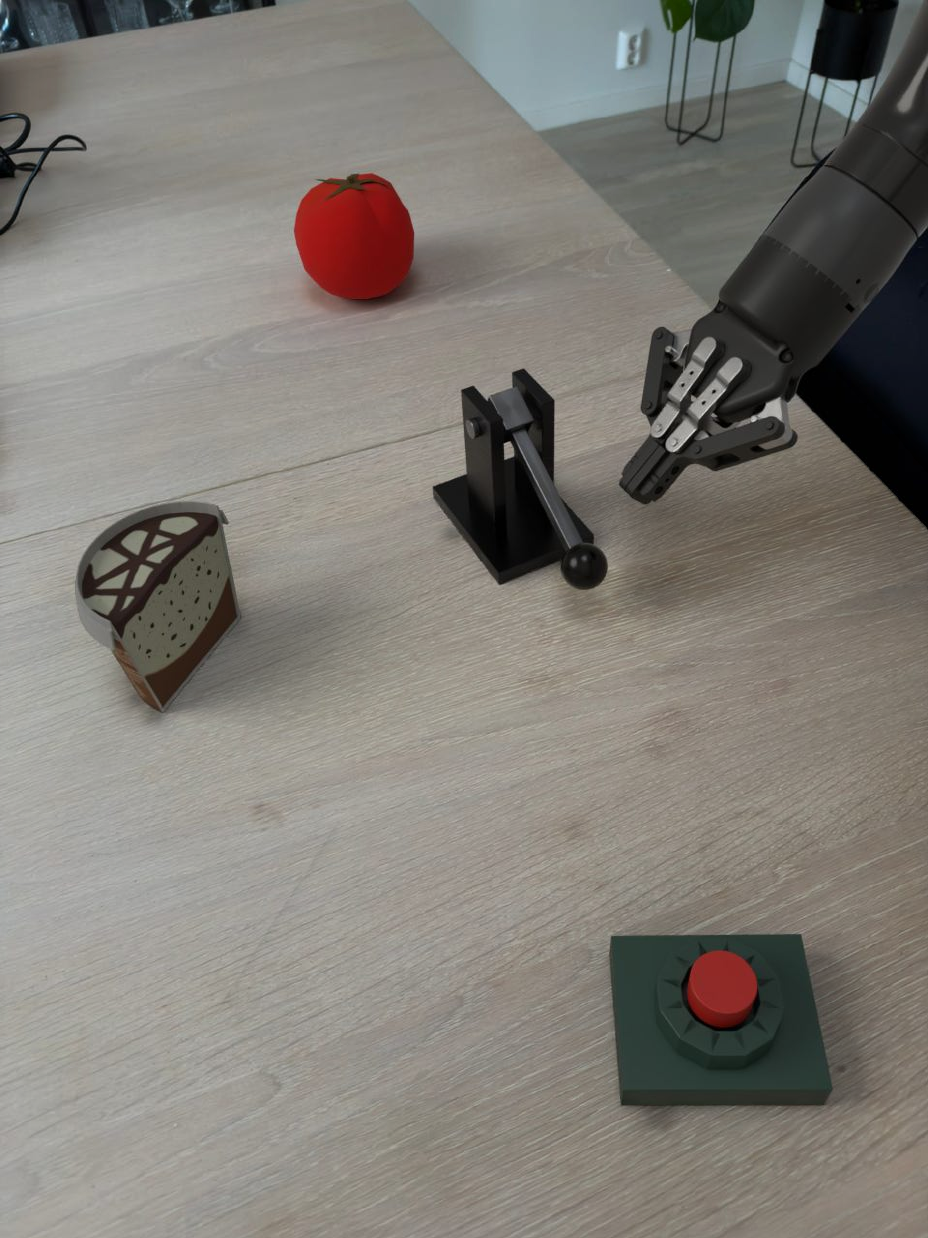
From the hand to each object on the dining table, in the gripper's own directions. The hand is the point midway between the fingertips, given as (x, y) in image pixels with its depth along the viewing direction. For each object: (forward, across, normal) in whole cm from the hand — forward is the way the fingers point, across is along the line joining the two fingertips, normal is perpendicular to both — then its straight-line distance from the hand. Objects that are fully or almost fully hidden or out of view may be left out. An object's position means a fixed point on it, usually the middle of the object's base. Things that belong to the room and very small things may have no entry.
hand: (632, 495), depth 71 cm
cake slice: (+28, -12, -14) cm, 34 cm away
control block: (+16, +28, -3) cm, 32 cm away
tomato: (+6, -48, +8) cm, 49 cm away
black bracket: (+9, -11, +5) cm, 15 cm away
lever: (+5, -6, 0) cm, 8 cm away
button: (+14, +28, -5) cm, 32 cm away
